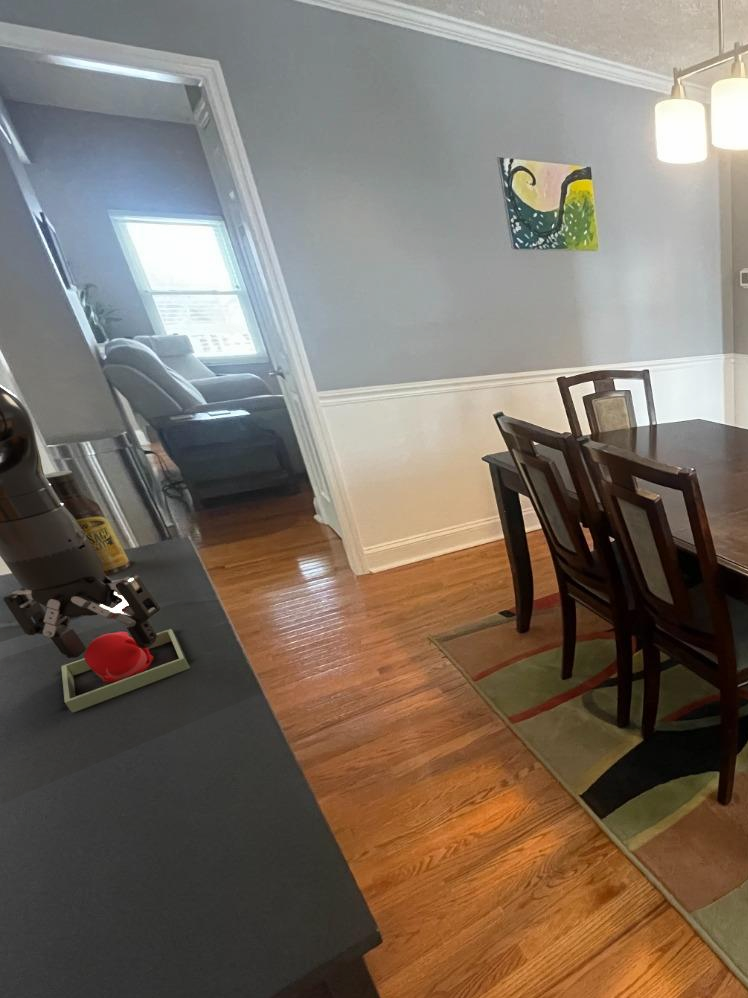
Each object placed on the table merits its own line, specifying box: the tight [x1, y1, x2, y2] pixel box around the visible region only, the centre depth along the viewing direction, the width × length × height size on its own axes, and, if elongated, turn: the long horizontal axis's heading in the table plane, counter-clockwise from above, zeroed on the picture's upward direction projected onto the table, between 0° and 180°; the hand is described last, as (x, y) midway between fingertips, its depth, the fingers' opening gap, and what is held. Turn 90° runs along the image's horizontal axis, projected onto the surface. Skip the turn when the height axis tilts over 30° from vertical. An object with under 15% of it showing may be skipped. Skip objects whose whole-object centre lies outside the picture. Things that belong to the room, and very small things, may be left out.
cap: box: [83, 631, 154, 684], centre depth 83 cm, size 8×6×6 cm
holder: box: [60, 628, 191, 714], centre depth 84 cm, size 12×12×2 cm
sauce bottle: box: [44, 470, 131, 577], centre depth 109 cm, size 6×6×20 cm
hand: (114, 649), depth 83 cm, fingers open, 8 cm apart
